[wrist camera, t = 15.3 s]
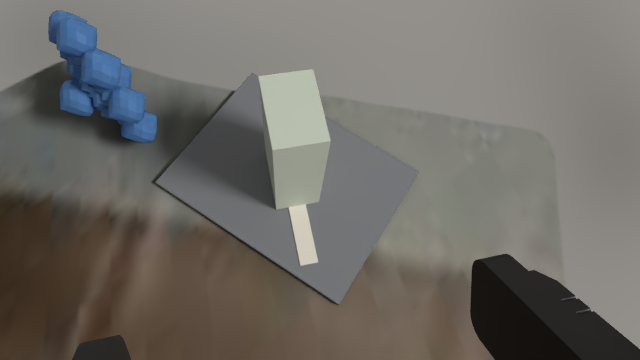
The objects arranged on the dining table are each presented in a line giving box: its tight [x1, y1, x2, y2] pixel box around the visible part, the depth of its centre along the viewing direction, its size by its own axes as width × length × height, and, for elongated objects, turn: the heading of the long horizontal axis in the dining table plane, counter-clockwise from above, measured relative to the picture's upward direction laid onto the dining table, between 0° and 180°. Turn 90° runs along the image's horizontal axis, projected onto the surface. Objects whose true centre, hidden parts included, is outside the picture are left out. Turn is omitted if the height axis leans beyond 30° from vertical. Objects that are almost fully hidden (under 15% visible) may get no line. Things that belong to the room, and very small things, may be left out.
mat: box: [156, 73, 419, 305], centre depth 42 cm, size 20×15×1 cm
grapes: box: [48, 11, 157, 143], centre depth 38 cm, size 12×7×12 cm, turn 42°
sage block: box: [258, 69, 331, 210], centre depth 36 cm, size 4×6×12 cm, turn 12°
